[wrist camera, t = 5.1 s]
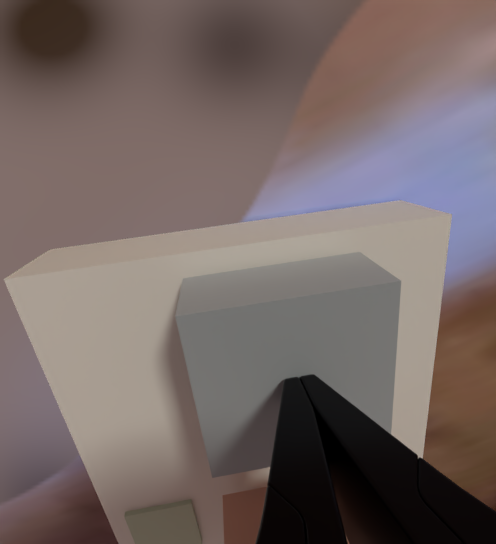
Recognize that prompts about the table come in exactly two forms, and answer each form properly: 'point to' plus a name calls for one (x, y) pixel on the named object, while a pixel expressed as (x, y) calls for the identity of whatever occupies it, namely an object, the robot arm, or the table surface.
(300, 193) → the table surface
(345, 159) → the table surface
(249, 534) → the key terracotta
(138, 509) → the keypad base
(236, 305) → the key slate
